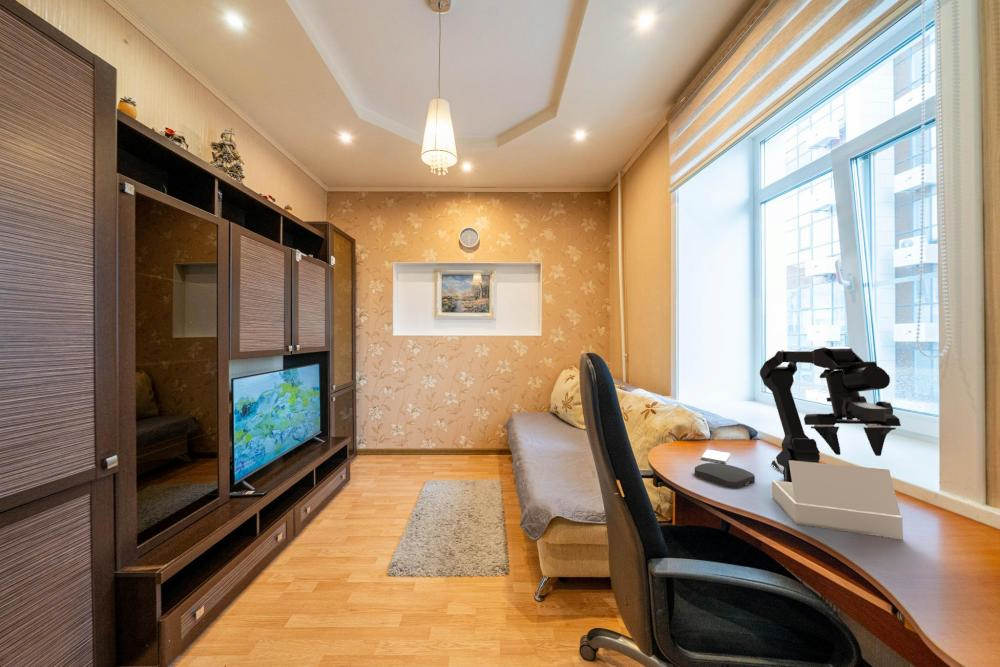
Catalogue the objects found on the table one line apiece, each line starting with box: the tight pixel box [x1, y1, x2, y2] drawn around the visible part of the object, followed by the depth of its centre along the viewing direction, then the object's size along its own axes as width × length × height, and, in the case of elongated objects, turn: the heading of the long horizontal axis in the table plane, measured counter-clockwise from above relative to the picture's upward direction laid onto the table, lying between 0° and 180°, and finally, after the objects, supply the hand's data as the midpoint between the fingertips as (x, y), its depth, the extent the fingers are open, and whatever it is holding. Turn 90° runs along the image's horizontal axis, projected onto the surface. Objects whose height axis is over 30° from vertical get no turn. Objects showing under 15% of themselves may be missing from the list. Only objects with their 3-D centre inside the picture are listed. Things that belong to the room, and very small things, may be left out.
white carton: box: [771, 479, 904, 540], centre depth 92 cm, size 16×20×5 cm
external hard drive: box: [700, 449, 731, 465], centre depth 138 cm, size 2×8×12 cm
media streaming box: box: [694, 462, 756, 489], centre depth 118 cm, size 15×15×3 cm
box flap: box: [789, 460, 902, 517], centre depth 86 cm, size 1×20×10 cm, turn 68°
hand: (858, 455), depth 89 cm, fingers open, 9 cm apart
